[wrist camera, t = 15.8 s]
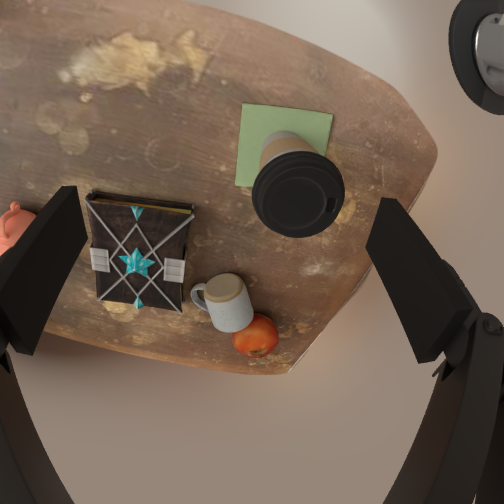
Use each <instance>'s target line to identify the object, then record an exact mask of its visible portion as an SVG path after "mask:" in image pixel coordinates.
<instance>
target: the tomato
mask: <svg viewBox="0 0 504 504" xmlns="http://www.w3.org/2000/svg"><path fill="white" fill-rule="evenodd" d="M277 344H278V331H277V329H276V327H275V325H274V323H273V321H272V320H271V319H270V318H268V317H266V316H264V315H262V314H259V313H254V314H253V319H252V321H251V322H250V324H249V325H248V326H247V327H246V328H244V329H242V330H240V331H237V332H233V345H234V346H235V348H236V349H237V350H238V351H240V352H241V353H242V354H244V355H246V356H248V357H253V358H262V357H265V356H266V355H268V354H269V353H270V352H271V351H272V350H273V349H274V348H275V347H276V346H277Z"/></svg>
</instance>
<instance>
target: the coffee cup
mask: <svg viewBox="0 0 504 504" xmlns="http://www.w3.org/2000/svg"><path fill="white" fill-rule="evenodd" d="M344 197H345V188H344V183H343V179H342V176H341V174H340V172H339V170H338V168H337V167H336V166H335V165H334V164H333V163H332V162H331V161H330V160H329V159H327V158H326V157H324V156H322V155H320V154H319V153H318V152H317V151H316V150H315V149H314V148H313V147H312V146H311V145H310V144H308V143H307V142H306V141H304V140H302V139H301V138H300V137H299V136H298V135H297V134H295V133H293V132H289V131H277V132H274V133H272V134H270V135H269V136H268V137H267V138H266V139H265V140H264V142H263V145H262V152H261V157H260V163H259V174H258V175H257V177H256V179H255V181H254V184H253V188H252V202H253V206H254V209H255V211H256V213H257V215H258V217H259V218H260V220H261V221H262V222H263V223H264V224H265V225H266V226H267V227H268V228H270V229H271V230H273V231H275V232H277V233H279V234H282V235H284V236H287V237H292V238H304V237H309V236H313V235H316V234H318V233H320V232H322V231H323V230H325V229H326V228H327V227H329V226H330V225H331V224H332V223H333V222H334V220H335V219H336V217H337V216H338V214H339V212H340V210H341V208H342V205H343V202H344Z"/></svg>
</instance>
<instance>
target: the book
mask: <svg viewBox="0 0 504 504" xmlns="http://www.w3.org/2000/svg"><path fill="white" fill-rule="evenodd" d="M84 201H85V203H86V205H87V211H88V216H89V221H90V227H91V231H92V240H93V242H92V244H91V246H90V255H91V262H92V270H95V272H96V287H97V297H98V298H97V301H99V300H106V301H114V302H122V303H129V304H134V305H135V307H136V308H137V309H139V308H141V307H143V306H149V307H156V308H162V309H168V310H174V311H178V312H179V313H180V314H182V309H181V302H182V303H184V301H185V299H184V298H183V285H182V283H183V279H184V272H185V265H186V256H187V247H185V240H186V236H187V232H188V229H189V225H190V222H191V219H193V218H194V217H195V214H194V213H192V212H193V209H194V208H195V204H192V205H186V204H178V203H170V202H163V201H155V200H148V199H141V198H134V197H126V196H119V195H113V194H107V193H101V192H95V191H94V189H92V190H91V191H90V193H89V194H88V195H87V196H86V199H85V200H84Z"/></svg>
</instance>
